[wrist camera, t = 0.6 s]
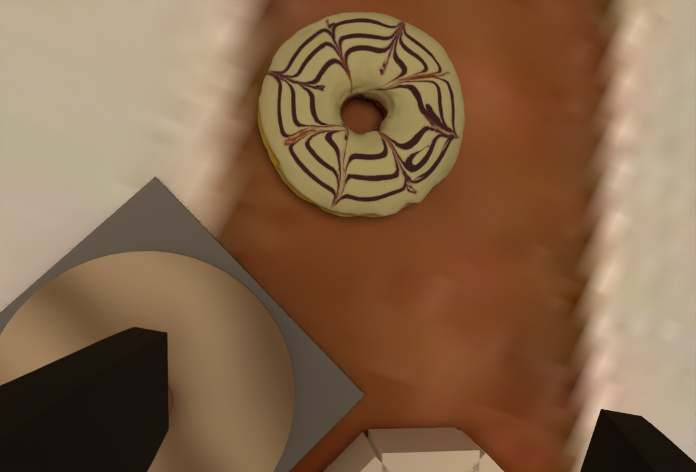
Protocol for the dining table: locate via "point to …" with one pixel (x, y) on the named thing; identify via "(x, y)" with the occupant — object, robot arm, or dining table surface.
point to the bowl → (413, 452)
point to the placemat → (195, 241)
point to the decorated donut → (374, 85)
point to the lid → (174, 352)
